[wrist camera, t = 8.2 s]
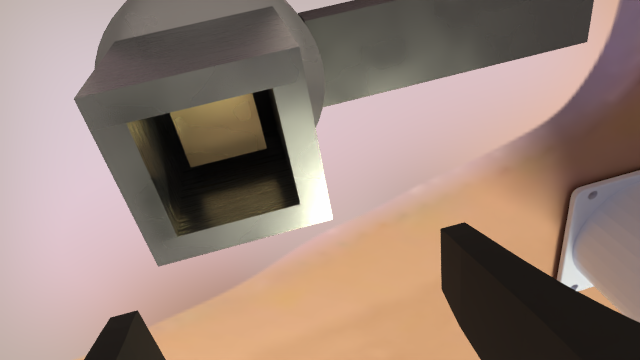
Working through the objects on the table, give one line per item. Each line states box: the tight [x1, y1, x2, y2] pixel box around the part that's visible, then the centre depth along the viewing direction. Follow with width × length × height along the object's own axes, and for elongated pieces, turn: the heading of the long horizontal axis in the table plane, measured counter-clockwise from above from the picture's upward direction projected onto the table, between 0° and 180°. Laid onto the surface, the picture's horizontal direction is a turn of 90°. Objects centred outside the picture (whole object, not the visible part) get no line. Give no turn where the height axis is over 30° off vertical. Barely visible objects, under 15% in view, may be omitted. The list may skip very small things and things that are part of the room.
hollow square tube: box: [74, 6, 333, 266], centre depth 13 cm, size 5×5×5 cm
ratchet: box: [95, 0, 594, 167], centre depth 15 cm, size 18×8×4 cm, turn 100°
